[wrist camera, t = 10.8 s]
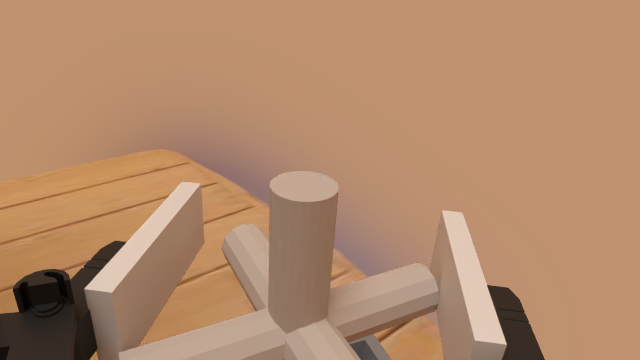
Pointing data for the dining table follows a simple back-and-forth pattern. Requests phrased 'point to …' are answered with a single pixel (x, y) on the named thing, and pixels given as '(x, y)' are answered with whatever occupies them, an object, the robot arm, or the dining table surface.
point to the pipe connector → (299, 288)
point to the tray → (369, 348)
